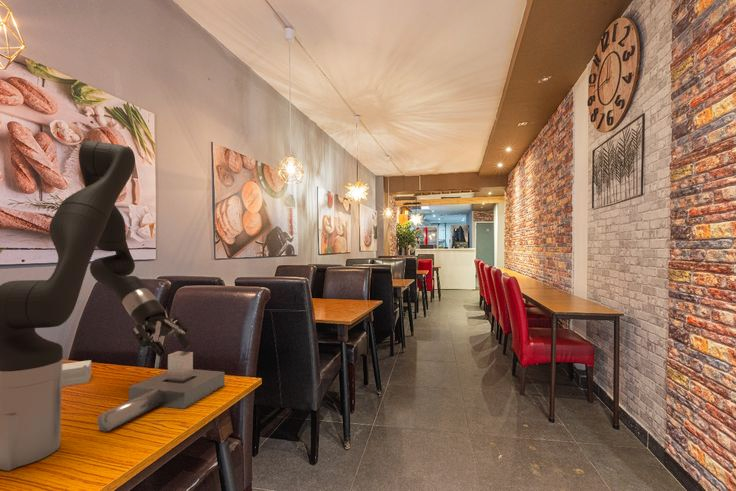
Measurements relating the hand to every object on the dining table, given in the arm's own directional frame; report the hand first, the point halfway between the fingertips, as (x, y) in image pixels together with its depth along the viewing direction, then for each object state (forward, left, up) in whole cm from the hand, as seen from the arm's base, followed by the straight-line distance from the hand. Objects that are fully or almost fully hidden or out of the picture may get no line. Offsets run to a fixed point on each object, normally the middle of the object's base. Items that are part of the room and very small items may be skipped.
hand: (176, 350), depth 94 cm
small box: (+1, +38, -12) cm, 39 cm away
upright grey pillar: (0, -1, -12) cm, 12 cm away
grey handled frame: (-7, -1, -12) cm, 13 cm away
